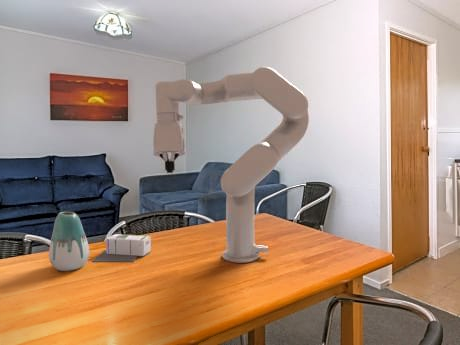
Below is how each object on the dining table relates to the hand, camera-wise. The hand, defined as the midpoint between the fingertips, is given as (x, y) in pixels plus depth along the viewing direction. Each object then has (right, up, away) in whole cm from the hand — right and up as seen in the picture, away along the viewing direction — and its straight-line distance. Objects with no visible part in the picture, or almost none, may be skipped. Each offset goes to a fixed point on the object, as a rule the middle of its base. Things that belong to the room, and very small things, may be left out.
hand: (170, 172), depth 117 cm
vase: (-30, -31, -9) cm, 44 cm away
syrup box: (-8, -26, +1) cm, 27 cm away
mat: (-18, -29, +1) cm, 34 cm away
